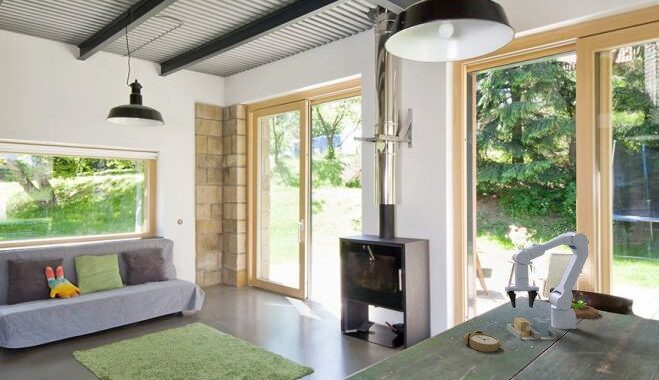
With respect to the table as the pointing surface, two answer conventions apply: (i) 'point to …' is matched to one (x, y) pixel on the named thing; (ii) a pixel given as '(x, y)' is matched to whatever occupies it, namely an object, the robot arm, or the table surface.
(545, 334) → the slate-blue plug block
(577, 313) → the plant
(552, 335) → the grey socket board
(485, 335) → the alarm clock
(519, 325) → the maple plug block
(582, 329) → the table surface
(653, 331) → the table surface
